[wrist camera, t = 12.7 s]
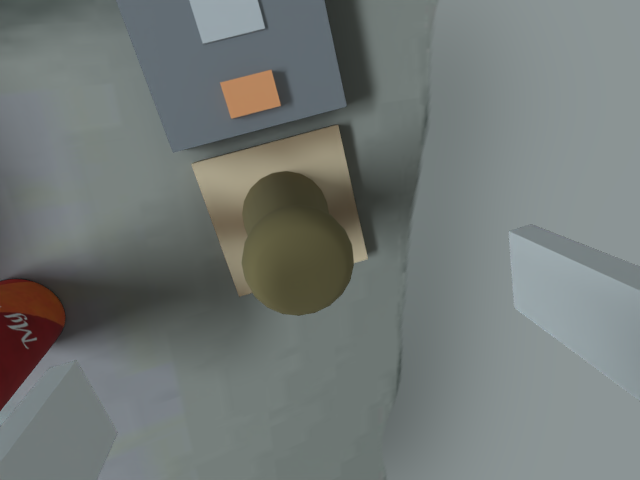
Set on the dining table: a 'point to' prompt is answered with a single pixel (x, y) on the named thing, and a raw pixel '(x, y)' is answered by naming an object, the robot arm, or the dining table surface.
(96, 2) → the dining table surface
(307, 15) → the power strip
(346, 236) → the olive knobbed peg
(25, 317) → the paper cup
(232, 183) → the oak board
